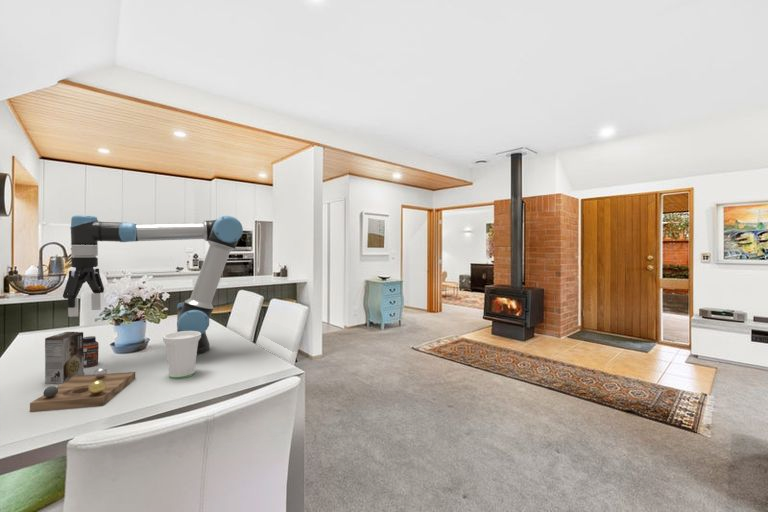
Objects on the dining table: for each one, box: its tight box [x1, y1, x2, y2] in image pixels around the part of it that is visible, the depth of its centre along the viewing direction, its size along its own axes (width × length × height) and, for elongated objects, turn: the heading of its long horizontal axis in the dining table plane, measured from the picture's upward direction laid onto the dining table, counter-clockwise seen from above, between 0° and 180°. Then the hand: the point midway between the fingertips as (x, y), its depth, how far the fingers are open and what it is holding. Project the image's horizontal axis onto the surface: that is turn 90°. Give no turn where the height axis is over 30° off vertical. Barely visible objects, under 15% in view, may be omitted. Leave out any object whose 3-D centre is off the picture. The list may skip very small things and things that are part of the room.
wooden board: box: [29, 371, 136, 412], centre depth 111 cm, size 22×18×2 cm
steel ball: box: [93, 367, 108, 378], centre depth 118 cm, size 3×3×3 cm
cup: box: [162, 331, 201, 380], centre depth 129 cm, size 12×12×15 cm
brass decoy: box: [88, 380, 106, 395], centre depth 105 cm, size 4×4×4 cm
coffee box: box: [44, 331, 85, 385], centre depth 123 cm, size 9×6×16 cm
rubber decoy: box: [43, 385, 58, 397], centre depth 103 cm, size 3×3×3 cm
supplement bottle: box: [83, 335, 100, 368], centre depth 137 cm, size 6×6×11 cm
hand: (85, 312), depth 129 cm, fingers open, 13 cm apart
